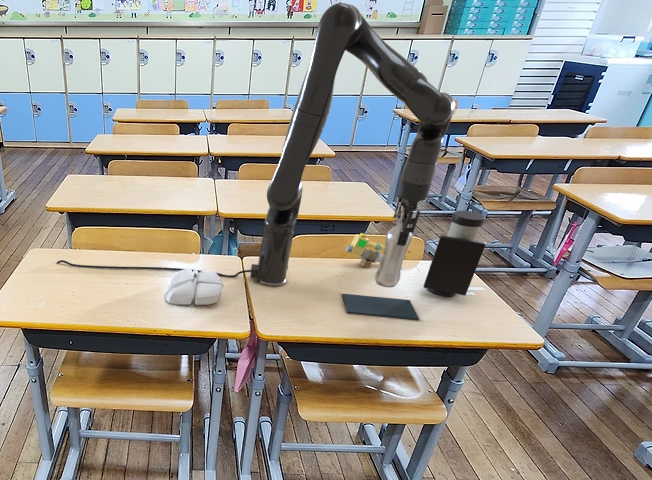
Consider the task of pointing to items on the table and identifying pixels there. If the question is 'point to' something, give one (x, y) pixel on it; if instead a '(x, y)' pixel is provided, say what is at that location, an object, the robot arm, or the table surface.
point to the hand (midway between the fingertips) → (398, 240)
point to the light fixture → (456, 256)
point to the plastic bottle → (392, 258)
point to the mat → (379, 306)
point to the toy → (365, 250)
